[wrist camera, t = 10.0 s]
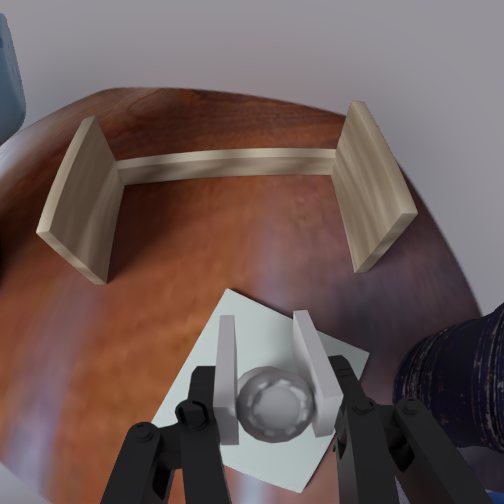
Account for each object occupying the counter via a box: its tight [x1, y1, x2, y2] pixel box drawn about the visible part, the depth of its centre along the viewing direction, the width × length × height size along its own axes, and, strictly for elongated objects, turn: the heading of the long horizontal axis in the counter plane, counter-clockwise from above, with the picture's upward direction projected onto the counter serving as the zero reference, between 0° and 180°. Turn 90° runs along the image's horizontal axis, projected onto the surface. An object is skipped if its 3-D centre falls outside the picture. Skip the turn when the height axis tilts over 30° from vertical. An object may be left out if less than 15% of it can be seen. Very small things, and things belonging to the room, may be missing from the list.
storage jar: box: [392, 303, 504, 453], centre depth 11 cm, size 10×10×15 cm
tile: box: [151, 288, 369, 493], centre depth 18 cm, size 12×12×1 cm
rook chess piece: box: [236, 366, 315, 444], centre depth 13 cm, size 4×4×8 cm
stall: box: [36, 101, 418, 284], centre depth 21 cm, size 23×12×9 cm, turn 93°
